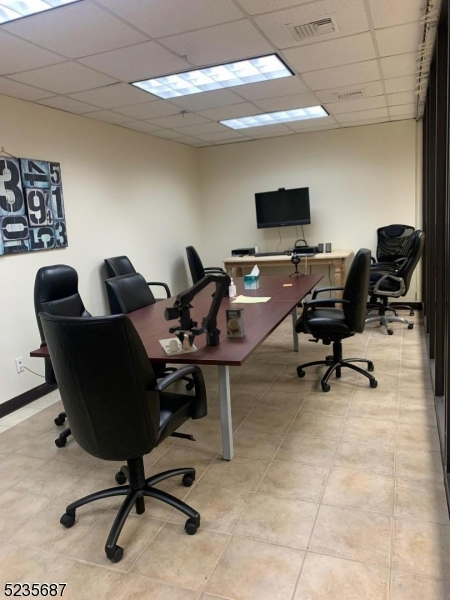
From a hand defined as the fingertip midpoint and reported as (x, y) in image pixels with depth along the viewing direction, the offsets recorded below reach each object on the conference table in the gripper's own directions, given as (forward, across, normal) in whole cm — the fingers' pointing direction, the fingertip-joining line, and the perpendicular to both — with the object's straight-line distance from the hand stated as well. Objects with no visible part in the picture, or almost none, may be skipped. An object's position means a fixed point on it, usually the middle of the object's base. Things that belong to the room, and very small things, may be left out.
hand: (187, 346), depth 235 cm
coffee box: (+3, -12, -33) cm, 35 cm away
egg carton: (+3, +11, -6) cm, 12 cm away
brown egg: (+2, 0, 0) cm, 2 cm away
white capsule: (+2, +5, +5) cm, 8 cm away
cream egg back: (+2, +5, -5) cm, 8 cm away
